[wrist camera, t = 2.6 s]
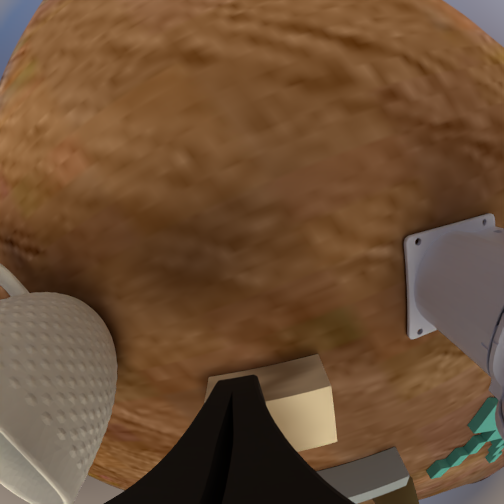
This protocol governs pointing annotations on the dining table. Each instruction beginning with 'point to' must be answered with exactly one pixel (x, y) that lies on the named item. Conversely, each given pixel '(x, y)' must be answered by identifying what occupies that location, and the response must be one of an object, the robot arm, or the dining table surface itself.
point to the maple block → (295, 400)
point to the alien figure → (474, 440)
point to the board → (368, 476)
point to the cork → (399, 495)
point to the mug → (51, 391)
